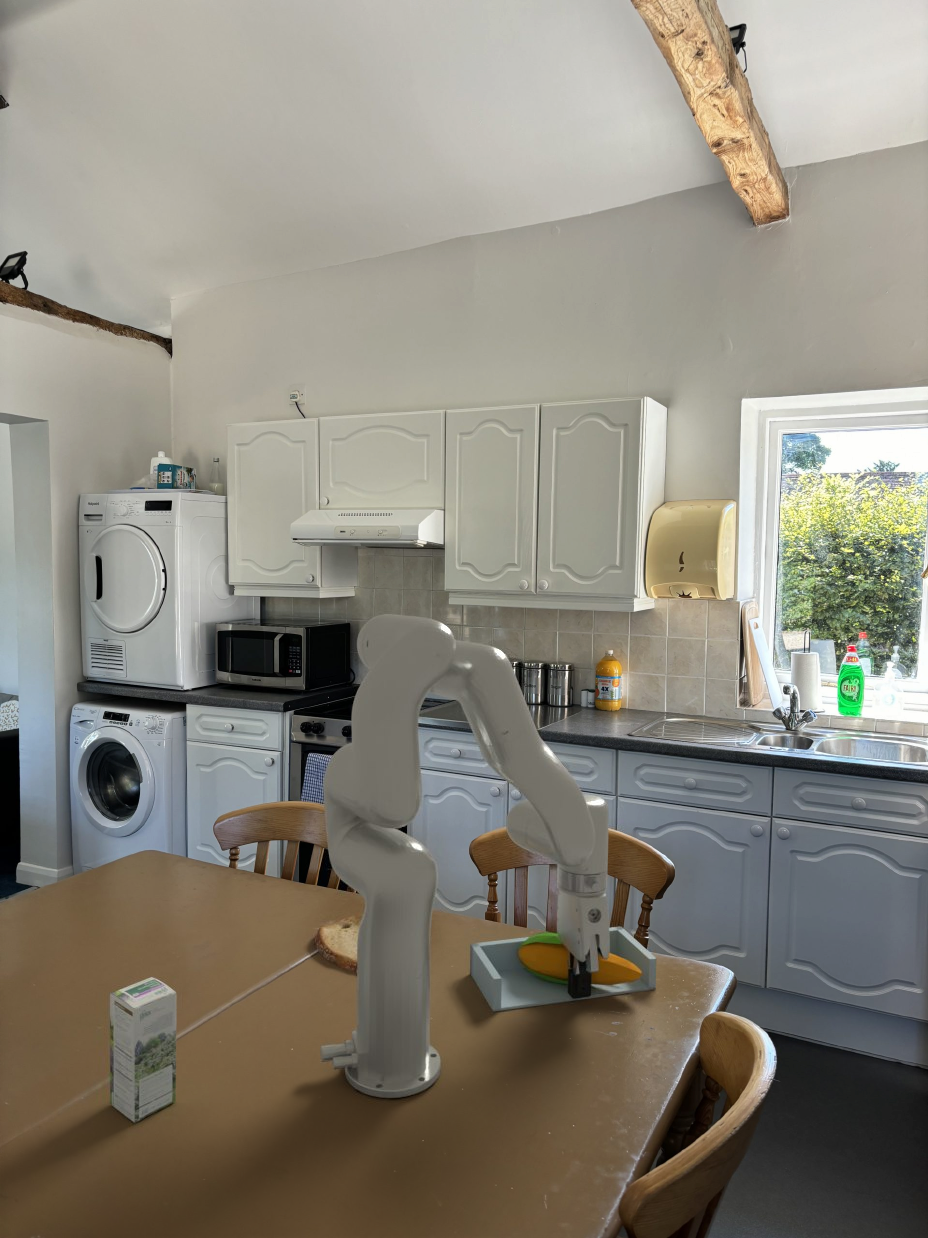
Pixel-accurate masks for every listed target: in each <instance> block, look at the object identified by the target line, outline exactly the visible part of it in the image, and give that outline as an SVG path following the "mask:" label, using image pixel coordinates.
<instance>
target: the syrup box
mask: <svg viewBox="0 0 928 1238" xmlns="http://www.w3.org/2000/svg"><path fill="white" fill-rule="evenodd" d="M109 1019H110V1020H109V1055H110V1056H109V1060H110V1063H109V1066H110V1067H109V1069H110V1071H109V1072H110V1073H109V1078H110V1079H109V1083H110V1084H109V1089H110V1090H109V1093H110V1095H109V1096H110V1099H109V1101H110V1105H111V1106H112V1107H113V1108H115V1109H116V1110H117V1111H118V1112H120V1113H121V1114H122V1115H124V1116H125V1117H126V1118H128V1119H129V1120H130V1121H132V1122H133V1123H134V1124H135V1123H137V1122H139V1121H142V1120H143V1119H145V1118H147V1117H150V1115H152V1114H154V1113H157V1112H158V1111H160V1110H162V1109H164V1108H166V1107H167V1106H168V1107H169V1106H170V1105H171V1104H173V1103H175V1102H176V1100H177V992H176V991H175V990H174V989H172V988H171V987H170V986H169V985H168V984H166V983H164V982H163V981H161V980H159V979H157V978H155V977H152V976H151V977H149V978H146V979H143V980H141V981H137V982H136V983H133V984H130V985H128V986H126V987H122V988H121V989H118V990H116V991H113V992H111V993H110V994H109Z"/></svg>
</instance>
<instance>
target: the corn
mask: <svg viewBox="0 0 928 1238" xmlns="http://www.w3.org/2000/svg"><path fill="white" fill-rule="evenodd" d="M528 937H529V938H528V939H527V940H525V941H524V943H523V944H522V945H521V946H520V947H519V948H520V949H518V950H519V951H518V957H519V960H520V962H521V964H522V965H523V967H525V968H526V969H527V970H528V971H529V972H531V973H533V974H534V975H536V976H537V977H540V978H543V979H546V980H549V981H552V982H556V983H561V984H566V985H568V969H571V968H569V967H568V965H567V950H566V949H567V948H566V946H565V945H564V944H563V943H562V942H561V941H560V939H559V937H558V934H557V932H553V931H544V932H539V933H536V934H534V935H532V936H528ZM597 954H598V953H597ZM598 967H599V970H598V972H593V973H592V975H591V984H595V985H615V984H622V983H629V982H634V981H636V980H638V979H639V978H640V977H641V975H642V972H641V970H640V969H639V968H638V967H637V966H635V965H634V964H633V963H631V962H630V961H628V960H626V959H624V958H621V957H619V956H616V955H613V954H611V953H609V958H608V959H603V958H602V957H601V956H600V955H599V954H598ZM591 988H593V989H596V988H595V987H593V986H591Z"/></svg>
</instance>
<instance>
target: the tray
mask: <svg viewBox="0 0 928 1238" xmlns="http://www.w3.org/2000/svg"><path fill="white" fill-rule="evenodd" d="M529 937H530V936H526V937H518V938H510V939H501V940H493V941H492V940H491V941H490V940H489V941H483V942H475V943H470V945H469V947H470V949H469V950H470V951H469V954H470V955H469V974H470V977H472V979H473V981H474V982H475V984H476V986H477V987H478V988H479V991H480V992H481V994H482V995H483V997H484V999H485V1000H486V1002H487V1003H488V1005H489V1007H490V1008H491V1010H492V1011H493V1012H494V1013H495V1012H501V1011H508V1010H514V1009H522V1008H530V1007H536V1006H544V1005H551V1004H559V1003H564V1002H573V1001H580V1000H587V999H594V998H602V997H609V996H615V995H623V994H628V993H629V994H630V993H637V992H645V991H651V990H656V987H657V986H656V984H657V957H655V956H654V954H653V953H651V952H650V951H649V950H648V949H647V948H645V947H644V946H643V945H642V944H641V943H640V942H639V941H638V940H637V939H636V938H634V937H633V936H632V935H631V934H630V933H629V932H628V931H626V929H624V928H623V927H622V926H614V927H613V926H611V927H609V940H610V952H609V953H611V954H613V955H616V956H619V957H621V958H624V959H626V960H628V961H630V962H631V963H633V964H634V965H635V966H637V967H638V968H639V969H640V970H641V972H642V975H641V977H640V978H639V979H638V980H636V981H634V982H629V983H622V984H615V985H595V984H591V986H593V987H595V988H596V989H593V988H591V996H590V997H585V998H578V999H572V998H571V996H570V995H569V994H568V985H566V984H561V983H556V982H552V981H549V980H546V979H543V978H540V977H537V976H536V975H534V974H533V973H531V972H529V971H528V970H527V969H526V968H525V967H523V965H522V964H521V962H520V960H519V957H518V951H519V950H518V949H520V948H519V947H520V946H521V945H522V944H523V943H524V941H525V940H527V939H528V938H529Z"/></svg>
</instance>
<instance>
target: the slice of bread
mask: <svg viewBox="0 0 928 1238" xmlns="http://www.w3.org/2000/svg"><path fill="white" fill-rule="evenodd" d="M362 917H363V914H360V915H357V914H356V915H353V916H349V917H345V918H344V919H340V920H338V921H336V922H334V923H331V924H330V925H326V926H320V927H319V928H318V929H317V932H316V935H315V937H314V944H315V947H316V950H317V952H319V954H320V955H321V956H322V957H323V958H324V959H326V960H327V961H328V962H331V963H333V964H336V965H337V966H338V967H340V968H343V969H345V970H348V971H351V972H354V973H357V940H358V931H359V927H360V923H361V920H362Z"/></svg>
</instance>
